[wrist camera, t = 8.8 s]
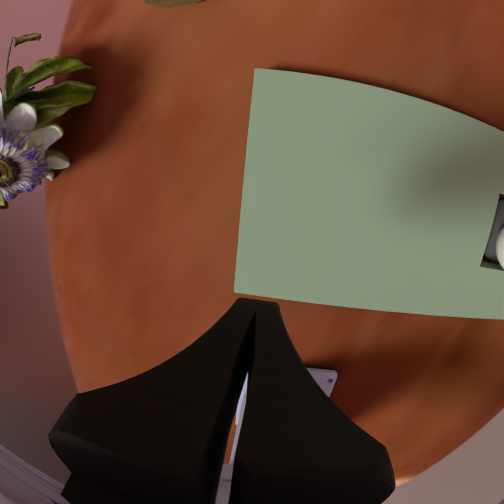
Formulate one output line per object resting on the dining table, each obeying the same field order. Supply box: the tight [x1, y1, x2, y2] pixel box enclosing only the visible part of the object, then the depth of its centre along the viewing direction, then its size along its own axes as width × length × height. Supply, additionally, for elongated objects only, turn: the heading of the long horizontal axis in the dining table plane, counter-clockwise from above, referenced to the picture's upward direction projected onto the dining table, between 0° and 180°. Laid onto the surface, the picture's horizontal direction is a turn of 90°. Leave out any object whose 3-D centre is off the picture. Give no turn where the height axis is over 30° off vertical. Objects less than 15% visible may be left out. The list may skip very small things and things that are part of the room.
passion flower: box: [0, 33, 97, 209], centre depth 15 cm, size 11×11×12 cm
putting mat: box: [234, 68, 504, 319], centre depth 17 cm, size 14×26×2 cm, turn 84°
